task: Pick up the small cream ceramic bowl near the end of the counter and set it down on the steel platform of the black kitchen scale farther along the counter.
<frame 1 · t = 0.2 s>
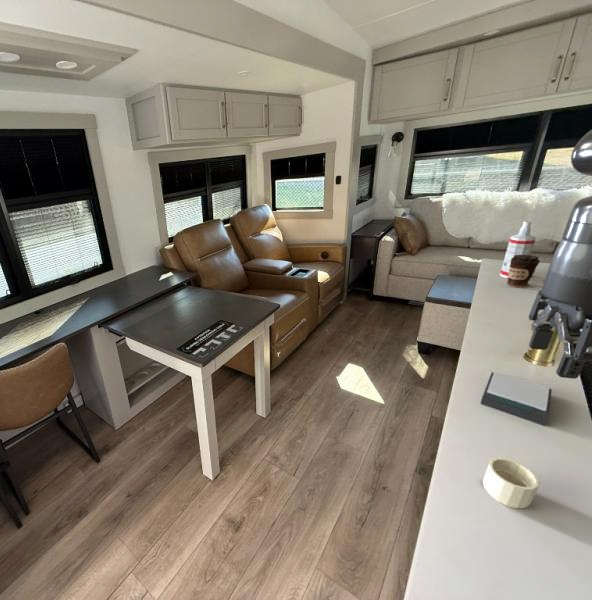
hand: (550, 361, 53), 25 cm above the table, tool pointing down, fingers open, 8 cm apart
scale: (515, 397, 79), on the table
spray bottle: (511, 276, 145), on the table
coffee cup: (516, 285, 136), on the table
bowl: (504, 493, 58), on the table
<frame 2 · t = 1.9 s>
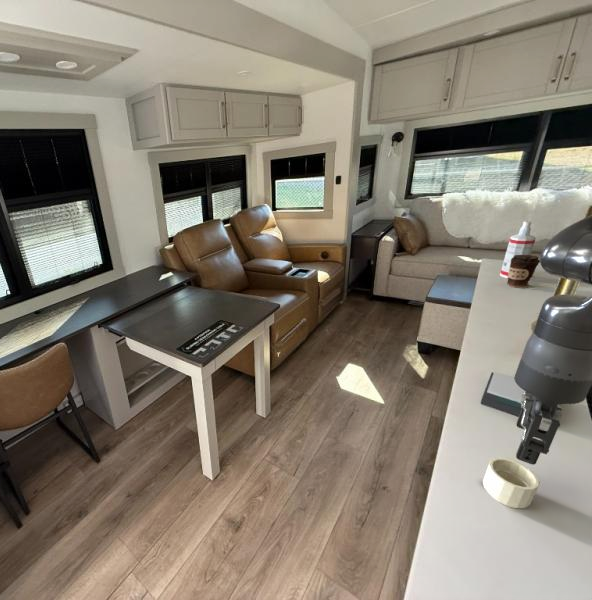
hand: (524, 443, 53), 13 cm above the table, tool pointing down, fingers open, 8 cm apart
nothing on the table moved.
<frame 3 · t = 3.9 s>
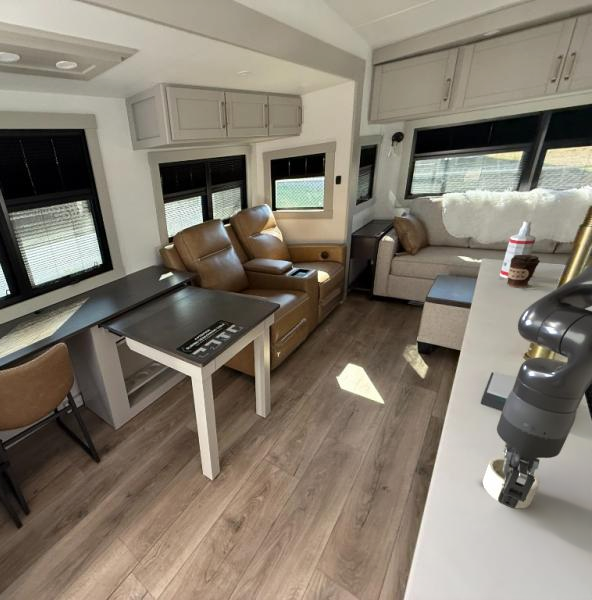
hand: (506, 488, 58), 1 cm above the table, tool pointing down, fingers closed on bowl, 6 cm apart
bowl: (504, 493, 58), on the table, touching gripper
everything else where it was.
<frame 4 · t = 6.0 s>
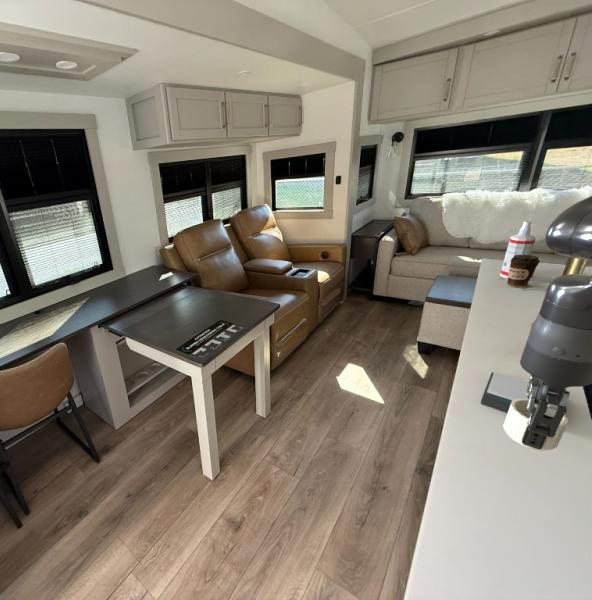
hand: (530, 431, 52), 15 cm above the table, tool pointing down, fingers closed on bowl, 6 cm apart
bowl: (528, 437, 53), point 14 cm above the table, touching gripper
everything else where it was.
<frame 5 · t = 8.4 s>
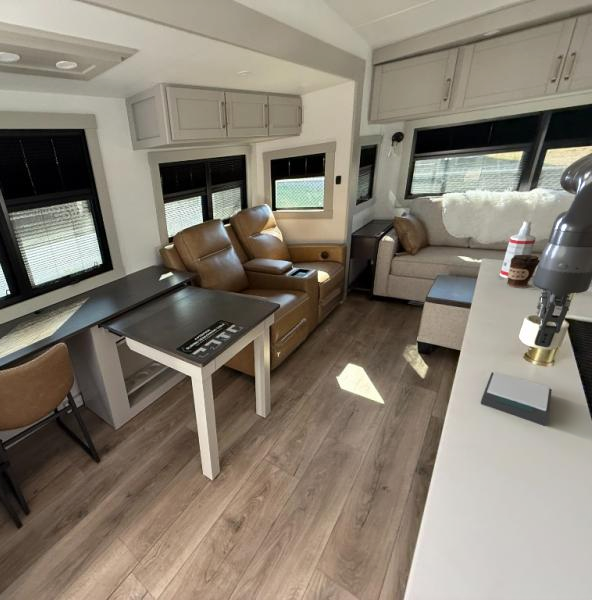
hand: (540, 338, 68), 19 cm above the table, tool pointing down, fingers closed on bowl, 6 cm apart
bowl: (538, 343, 69), point 18 cm above the table, touching gripper
everything else where it was.
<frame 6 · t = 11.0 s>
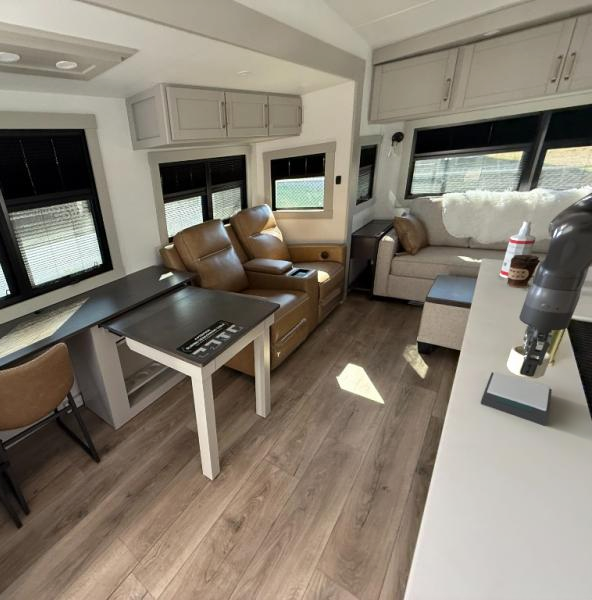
hand: (525, 367, 75), 9 cm above the table, tool pointing down, fingers closed on bowl, 6 cm apart
bowl: (524, 371, 76), point 8 cm above the table, touching gripper
everything else where it was.
when the fingers open (4 cm above the table, at t = 12.9 s): bowl stays where it is, resting on scale.
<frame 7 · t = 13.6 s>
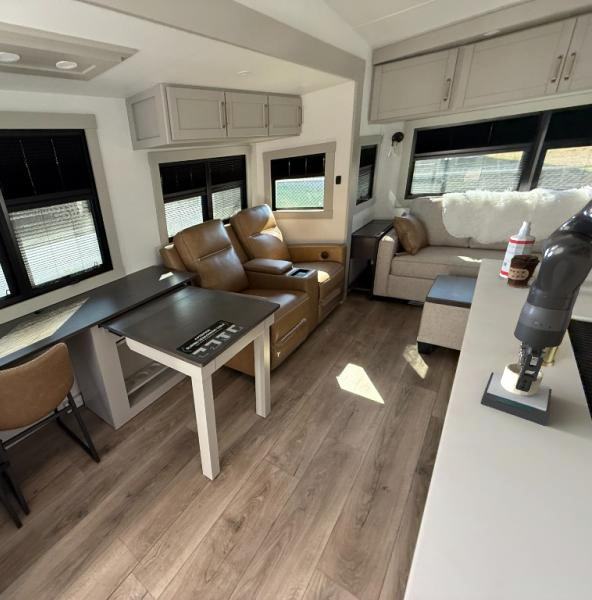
hand: (521, 380, 77), 5 cm above the table, tool pointing down, fingers open, 8 cm apart
bowl: (517, 388, 78), point 3 cm above the table, touching scale
everything else where it was.
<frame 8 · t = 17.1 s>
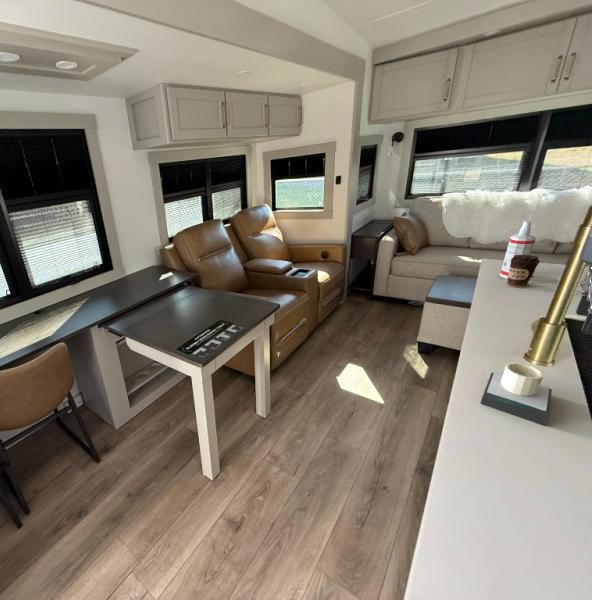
hand: (587, 324, 57), 28 cm above the table, tool pointing down, fingers open, 8 cm apart
nothing on the table moved.
at the end: bowl inside the target area on the scale (0.2 cm from its centre), point 2.9 cm above the scale's base; bowl tilted 0°; the gripper is holding nothing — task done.
